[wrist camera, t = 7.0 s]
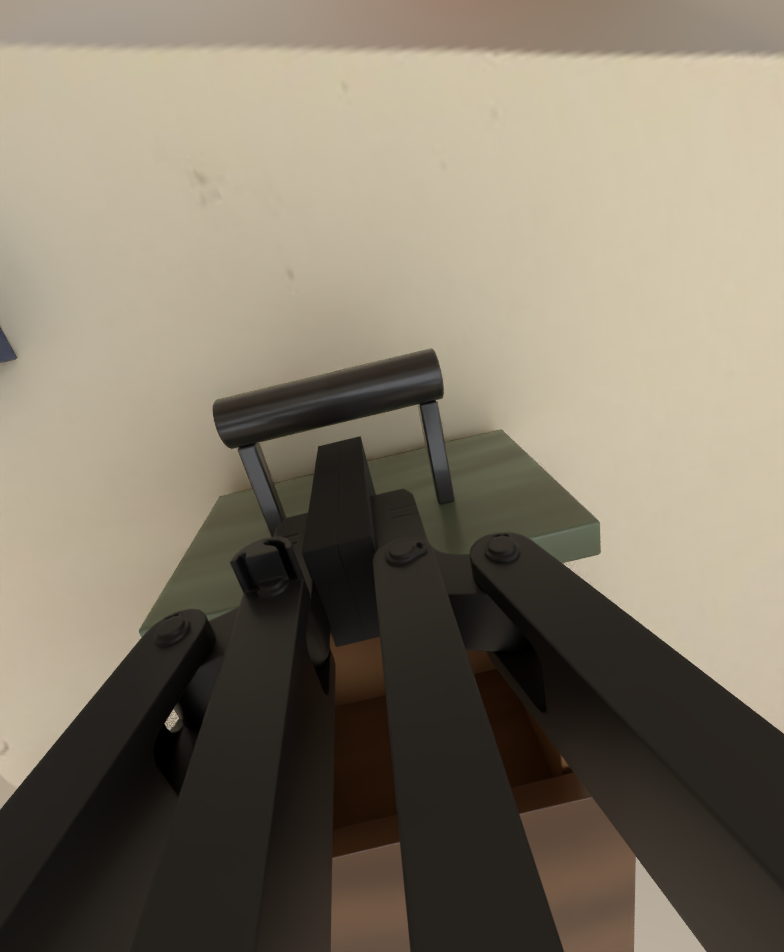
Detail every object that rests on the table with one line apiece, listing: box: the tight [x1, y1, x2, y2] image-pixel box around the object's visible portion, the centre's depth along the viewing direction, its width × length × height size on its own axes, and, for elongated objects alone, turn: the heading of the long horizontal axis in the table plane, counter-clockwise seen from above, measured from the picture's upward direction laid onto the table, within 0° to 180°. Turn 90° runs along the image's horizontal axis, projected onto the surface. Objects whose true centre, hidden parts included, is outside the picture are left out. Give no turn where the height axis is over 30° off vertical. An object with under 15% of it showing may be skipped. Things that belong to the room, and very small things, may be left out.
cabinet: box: [331, 772, 636, 952], centre depth 25 cm, size 16×15×11 cm
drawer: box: [139, 349, 601, 829], centre depth 19 cm, size 20×14×9 cm
